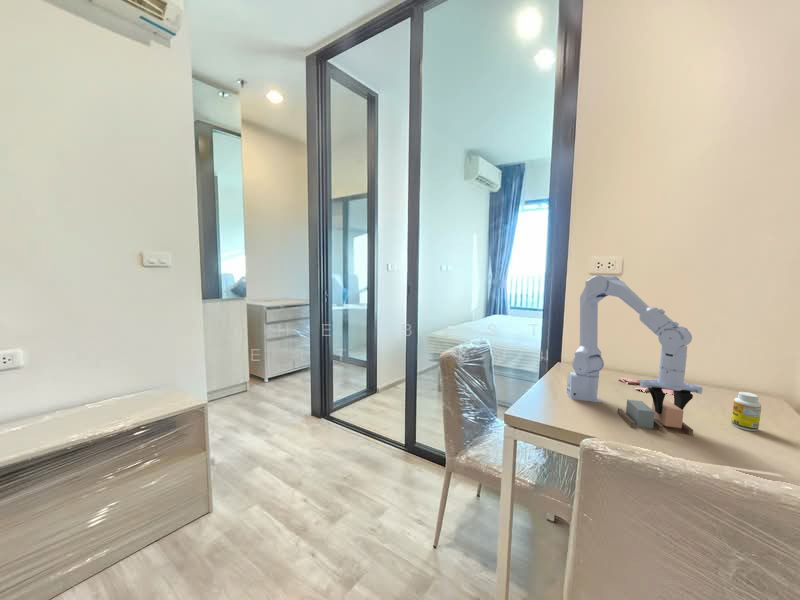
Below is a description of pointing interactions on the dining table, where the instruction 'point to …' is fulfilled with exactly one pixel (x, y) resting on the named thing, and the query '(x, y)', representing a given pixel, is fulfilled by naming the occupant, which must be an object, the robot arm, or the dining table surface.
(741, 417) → the supplement bottle
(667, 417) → the plug block
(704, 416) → the dining table surface
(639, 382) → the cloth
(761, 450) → the dining table surface
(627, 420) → the comb rack
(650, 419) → the slate block
